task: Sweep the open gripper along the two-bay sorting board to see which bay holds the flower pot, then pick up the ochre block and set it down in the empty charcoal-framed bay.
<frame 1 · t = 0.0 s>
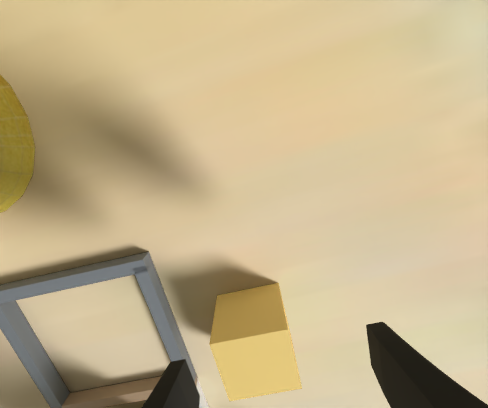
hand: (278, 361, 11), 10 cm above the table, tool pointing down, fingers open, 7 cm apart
ochre block: (254, 313, 22), on the table
sorting board: (127, 386, 24), on the table
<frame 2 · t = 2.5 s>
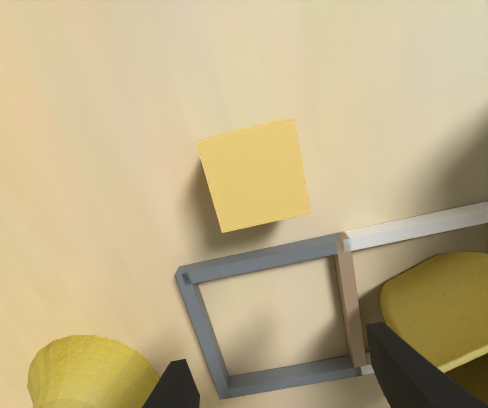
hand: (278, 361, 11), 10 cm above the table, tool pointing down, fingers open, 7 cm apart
flower pot: (420, 287, 22), resting in sorting board
ochre block: (253, 164, 19), on the table
handbell: (97, 385, 25), on the table
sorting board: (347, 303, 22), on the table
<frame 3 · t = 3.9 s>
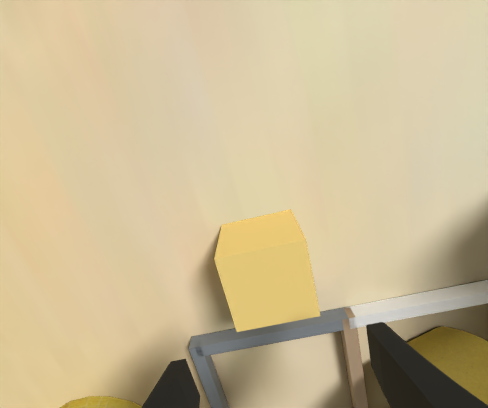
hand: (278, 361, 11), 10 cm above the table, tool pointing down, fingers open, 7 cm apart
flower pot: (422, 354, 23), resting in sorting board
ochre block: (263, 247, 20), on the table
sorting board: (352, 369, 23), on the table
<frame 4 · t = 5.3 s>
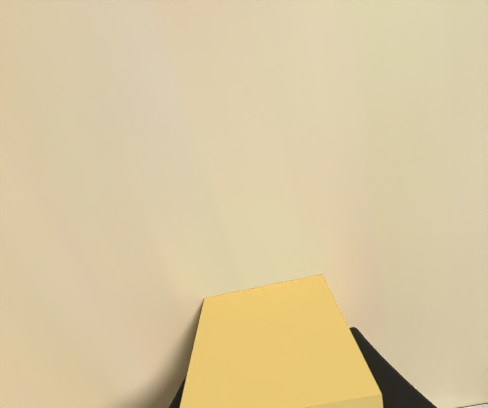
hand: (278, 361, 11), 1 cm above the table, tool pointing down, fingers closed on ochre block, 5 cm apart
ochre block: (274, 333, 12), on the table, touching gripper
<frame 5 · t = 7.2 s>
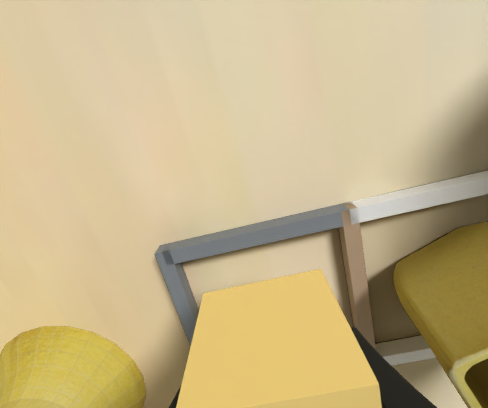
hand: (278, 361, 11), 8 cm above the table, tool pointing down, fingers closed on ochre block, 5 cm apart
flower pot: (438, 267, 19), resting in sorting board
ochre block: (273, 328, 12), point 7 cm above the table, touching gripper
handbell: (73, 383, 23), on the table
sorting board: (354, 287, 19), on the table
when the fingers open (3 cm above the table, at t = 9.1 s): ochre block drops 1 cm, resting in sorting board.
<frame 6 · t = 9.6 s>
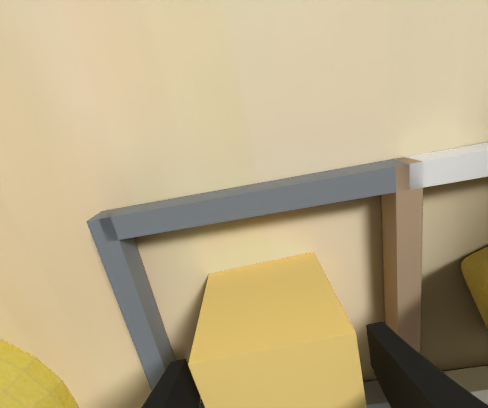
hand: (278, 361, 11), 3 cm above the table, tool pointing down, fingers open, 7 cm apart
ochre block: (271, 305, 13), resting in sorting board
sorting board: (394, 292, 13), on the table
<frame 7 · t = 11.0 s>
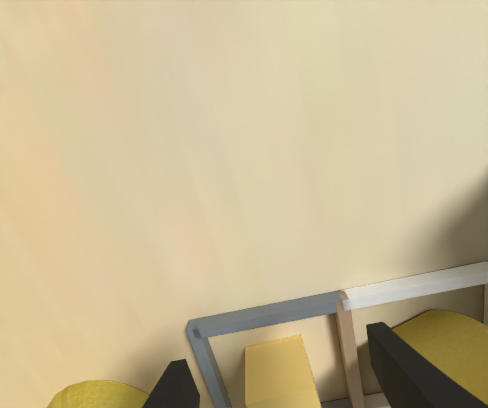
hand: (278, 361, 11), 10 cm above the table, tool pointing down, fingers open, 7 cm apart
flower pot: (415, 337, 23), resting in sorting board
ochre block: (279, 361, 24), resting in sorting board
sorting board: (347, 352, 24), on the table
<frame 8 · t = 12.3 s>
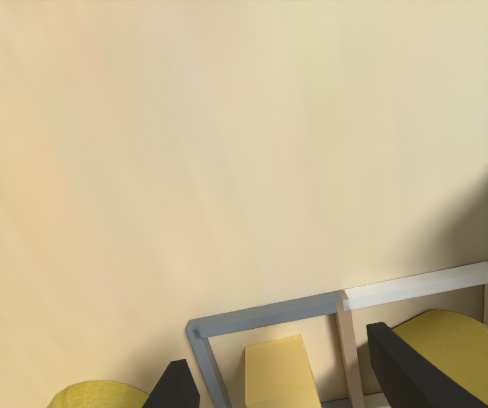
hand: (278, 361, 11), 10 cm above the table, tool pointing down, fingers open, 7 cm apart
flower pot: (415, 337, 23), resting in sorting board
ochre block: (279, 361, 24), resting in sorting board
sorting board: (347, 352, 24), on the table
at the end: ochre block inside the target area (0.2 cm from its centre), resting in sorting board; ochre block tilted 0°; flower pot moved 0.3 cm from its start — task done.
